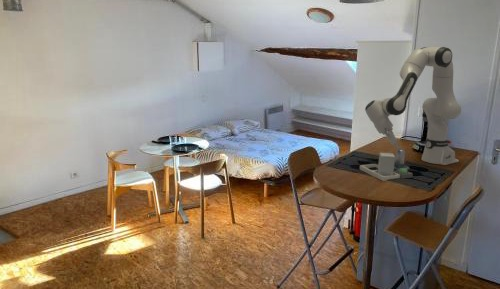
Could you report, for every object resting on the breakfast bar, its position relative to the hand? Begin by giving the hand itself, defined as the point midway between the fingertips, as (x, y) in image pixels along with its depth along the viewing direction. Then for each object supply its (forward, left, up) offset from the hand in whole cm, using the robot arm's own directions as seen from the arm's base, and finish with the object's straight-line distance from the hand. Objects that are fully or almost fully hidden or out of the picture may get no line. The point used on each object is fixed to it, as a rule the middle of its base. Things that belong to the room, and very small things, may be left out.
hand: (397, 146), depth 224 cm
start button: (+6, +13, -13) cm, 19 cm away
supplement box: (+15, +9, -14) cm, 22 cm away
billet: (-2, 0, -13) cm, 13 cm away
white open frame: (+15, +4, -14) cm, 20 cm away
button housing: (+6, +13, -14) cm, 19 cm away
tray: (-2, 0, -14) cm, 14 cm away
